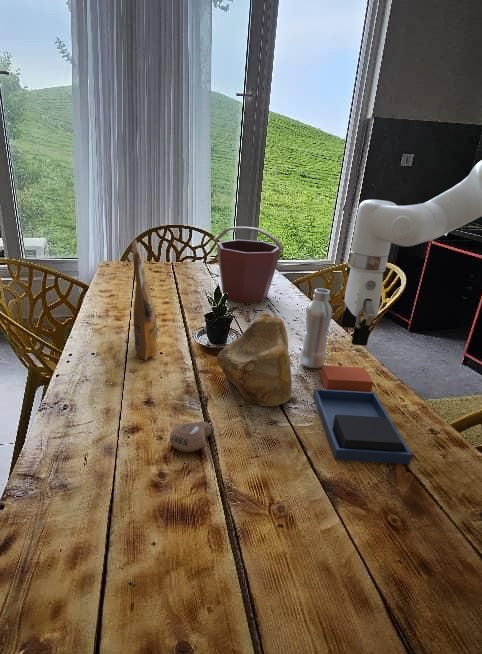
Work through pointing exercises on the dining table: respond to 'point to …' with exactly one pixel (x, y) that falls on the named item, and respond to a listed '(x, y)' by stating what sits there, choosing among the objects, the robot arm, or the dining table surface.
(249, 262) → the bucket
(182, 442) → the oil lamp
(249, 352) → the rough brown rock
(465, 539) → the dining table surface
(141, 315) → the pancake mix bag
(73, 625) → the dining table surface
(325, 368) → the orange red rectangular block
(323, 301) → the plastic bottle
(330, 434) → the pad frame
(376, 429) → the pad
